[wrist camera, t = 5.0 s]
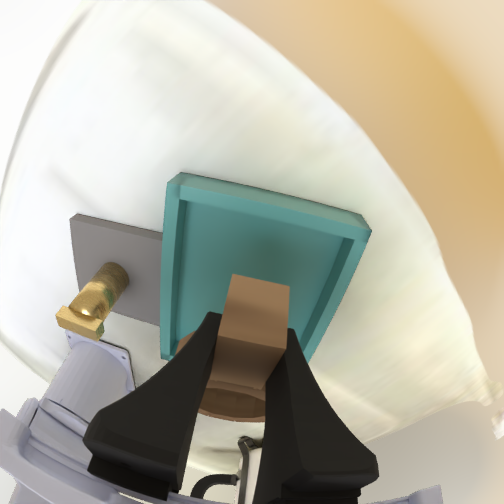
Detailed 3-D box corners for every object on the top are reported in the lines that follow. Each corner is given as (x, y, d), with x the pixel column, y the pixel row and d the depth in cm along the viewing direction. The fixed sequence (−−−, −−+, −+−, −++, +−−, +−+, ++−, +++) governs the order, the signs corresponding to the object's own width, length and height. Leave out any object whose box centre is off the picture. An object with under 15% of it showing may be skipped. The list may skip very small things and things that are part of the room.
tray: (294, 365, 25) (294, 386, 22) (168, 338, 24) (160, 358, 22) (361, 214, 17) (372, 230, 15) (180, 172, 17) (167, 182, 15)
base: (165, 318, 23) (161, 326, 22) (86, 294, 23) (81, 300, 22) (169, 234, 19) (164, 241, 18) (76, 213, 19) (69, 219, 18)
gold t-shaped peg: (133, 294, 21) (99, 349, 15) (99, 283, 21) (61, 333, 15) (132, 267, 19) (93, 322, 14) (96, 257, 19) (52, 306, 14)
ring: (276, 389, 19) (272, 427, 17) (180, 369, 19) (170, 406, 17) (340, 296, 12) (345, 357, 10) (178, 260, 12) (153, 318, 9)
